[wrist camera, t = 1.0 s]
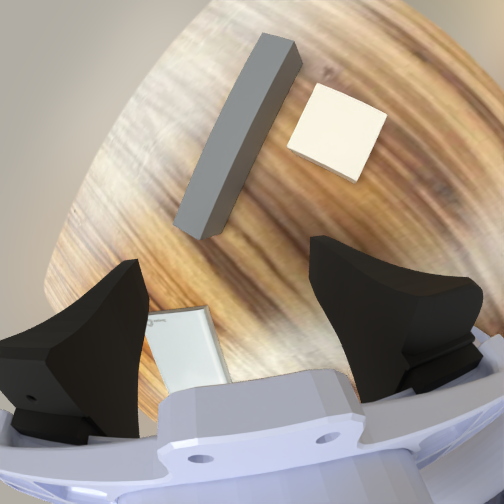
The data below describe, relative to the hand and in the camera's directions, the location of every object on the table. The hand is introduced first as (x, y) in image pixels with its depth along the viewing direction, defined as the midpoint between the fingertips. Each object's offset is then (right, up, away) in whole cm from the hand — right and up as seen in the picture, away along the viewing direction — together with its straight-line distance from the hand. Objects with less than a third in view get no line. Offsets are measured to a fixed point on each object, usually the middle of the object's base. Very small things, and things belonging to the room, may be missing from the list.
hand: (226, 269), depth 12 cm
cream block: (+8, +9, +9) cm, 15 cm away
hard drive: (-5, -11, +17) cm, 21 cm away
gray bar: (+1, +10, +11) cm, 14 cm away
